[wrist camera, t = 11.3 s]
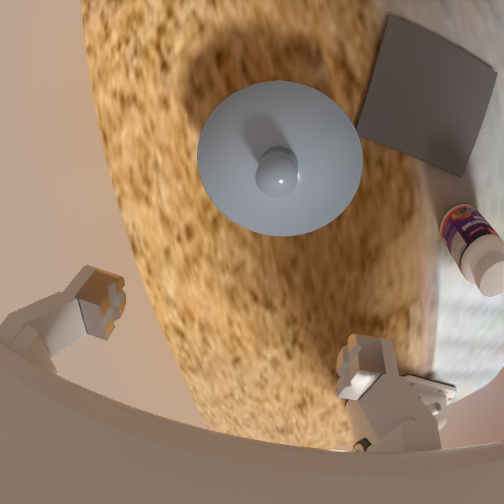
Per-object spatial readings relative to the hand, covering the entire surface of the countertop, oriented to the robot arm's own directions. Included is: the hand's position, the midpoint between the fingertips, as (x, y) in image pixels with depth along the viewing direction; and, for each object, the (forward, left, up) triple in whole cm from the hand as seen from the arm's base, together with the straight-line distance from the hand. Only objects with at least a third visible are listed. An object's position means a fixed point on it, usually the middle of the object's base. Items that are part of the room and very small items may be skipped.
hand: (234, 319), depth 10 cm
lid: (0, 0, -16) cm, 16 cm away
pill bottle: (-21, +2, -21) cm, 30 cm away
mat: (-12, -9, -21) cm, 26 cm away
